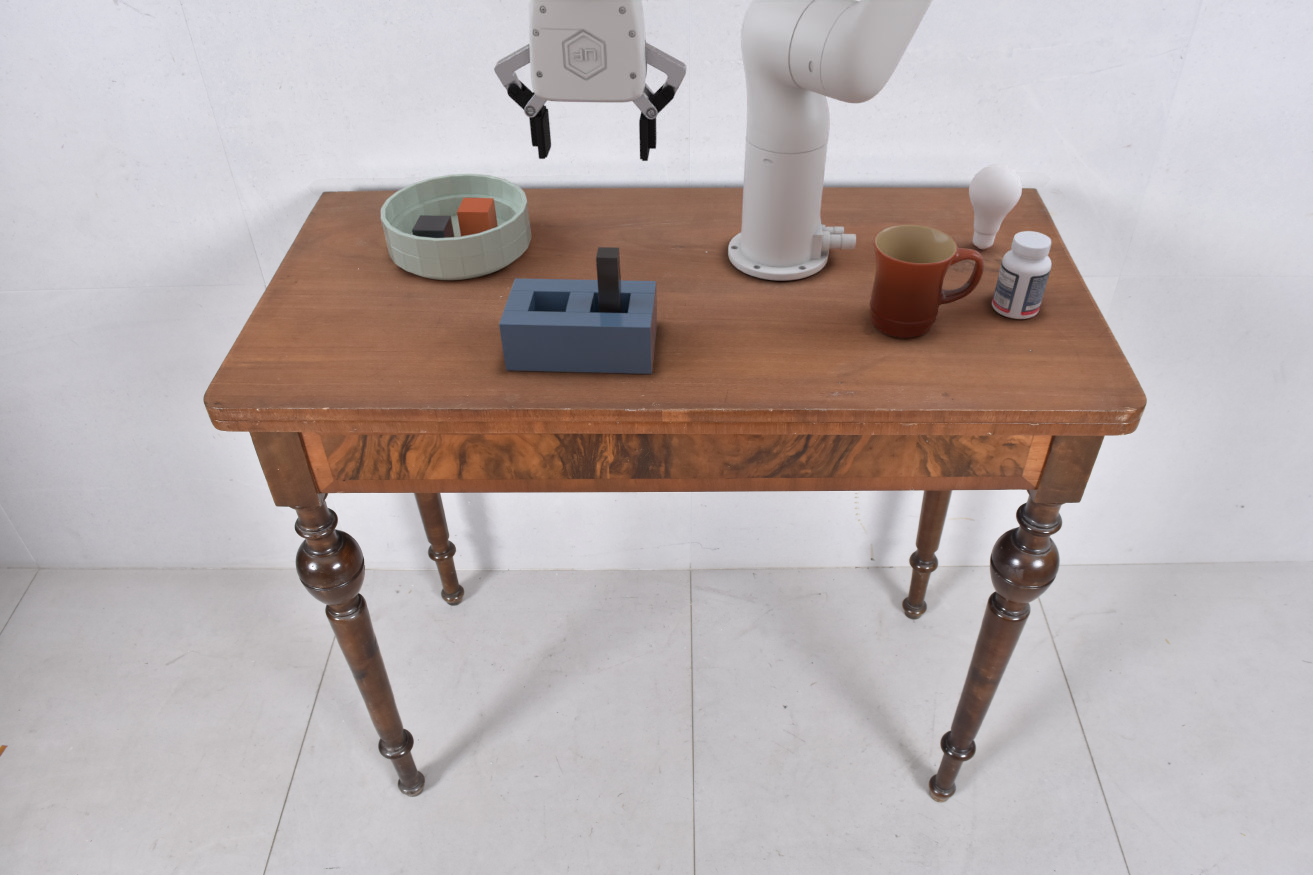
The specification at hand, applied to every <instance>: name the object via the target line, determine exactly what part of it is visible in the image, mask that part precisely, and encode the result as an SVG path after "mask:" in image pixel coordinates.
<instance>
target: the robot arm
mask: <svg viewBox="0 0 1313 875" xmlns="http://www.w3.org/2000/svg"><path fill="white" fill-rule="evenodd" d="M528 2H529V3H528V40H529V41H528V43H527V44H526V45H524V46H522V47H521V48H518V49H517V50H515V51H513V52H512V53H510V54H508V55H507V56H504V57H502V58H501V59H499V60H498V61H496V63H495V65H494V67H493V71H494V74H495V75H496V76H497V78H498V79H499V81H500V83H501V84H502V86H503V87H504V89H505V90H506V92H507V95H508V97H509V98H510V99H511V100H512V101H514V102H515V104H516V105H518V106H519V107H520V108H521V109H522V110H523V112H524V115H525V116H526V117H527V118H528V119H529V130H530V138H531V140H530V141H531V145H532V147H535V148H537V155H538V159H539V160H545V159H547V158H548V156H549V153H550V151H551V148H552V137H551V136H552V135H551V126H550V115H549V114H550V113H549V109H548V108H547V105H545V104H546V103H547V101H549V102H559V103H560V102H561V103H630V102H632V103H633V104H634V105H635V106H636V108H638V110H639V111H640V116H639V120H638V128H639V129H638V130H639V131H638V134H639V160H641V161H642V162H648V161H649V156H650V151H651V150H657V117H658V114H659V113H660V112H661V111H662V110H664V109H665V107H667V106H668V105H669V104H670V103H671V102H672V100H673V99H674V98H675V95H676V93H677V91H678V90H679V88H680V86H681V84H682V82H683V80H684V78H685V77H686V74H687V64H686V63H685V62H683V61H682V60H679V59H678V58H676V57H674V56H672V55H671V54H668V53H667V52H664V51H663V50H662V49H659V48H658V47H655V46H654V45H652V44H650V43H648V42H647V39H646V26H645V15H644V9H643V8H644V7H643V1H642V0H529V1H528ZM932 2H933V0H752V1H751V2H750V4H749V5H748V8H747V9H746V11H745V13H744V17H743V19H742V24H741V30H740V47H741V48H740V49H741V57H742V63H743V64H742V65H743V70H744V78H745V85H746V87H745V88H746V124H745V125H746V126H745V127H746V128H745V144H744V145H745V146H744V166H743V185H742V186H743V187H742V188H743V189H742V207H741V208H742V209H741V210H742V211H741V229H740V230H741V231H740V232H739V233H737V234H736V235H735V236H733V237H732V238H731V240H730V241H729V243H728V248H727V256H728V259H729V262H730V263H731V264H732V265H733V266H734V267H735V268H736V269H737V270H739V271H741V272H742V273H744V274H746V275H749V276H751V277H754V278H757V279H762V280H769V281H779V282H780V281H783V282H784V281H795V280H801V279H804V278H809V277H810V276H813V275H815V274H816V273H818V272H820V271H821V270H822V269H823V268H824V267H826V265H827V263H828V262H829V261H828V260H829V255H830V253H829V252H830V250H841V251H843V250H845V251H854V250H856V246H857V234H856V233H845V227H844V226H826V224H822V216H821V211H822V209H821V208H822V201H823V200H822V199H823V192H824V191H823V189H824V182H825V181H824V180H825V179H824V178H825V171H826V162H827V152H828V143H829V137H830V126H831V124H830V123H831V119H830V109H829V103H828V99H827V98H830V99H833V100H836V101H840V102H844V103H848V104H862V103H865V102H868V101H870V100H872V99H873V98H875V97H876V96H877V95H878V94H879V93H880V92H881V91H883V89H884V87H886V85H887V83H888V82H889V80H890V79H891V78H892V76H893V74H894V73H895V70H896V69H897V68H898V66H899V64H900V62H901V60H902V58H903V56H904V54H905V52H906V51H907V49H908V47H909V45H910V43H911V42H912V40H913V37H914V36H915V34H916V32H917V30H918V29H919V27H920V25H921V23H922V21H923V19H924V17H925V15H926V14H927V11H928V10H929V7H930V6H931V5H932ZM526 65H530V66H529V67H530V81H531V87H532V90H531V89H530V88H529V87H527V86H526V85H525V84H524V83H523V82H522V81H521V80H520V79H519V78H518V75H517V73H516V71H518V70H519V69H521V68H523V67H525V66H526ZM648 66H651V67H653V68H654V69H657V70H658V71H660V72H662V73H664V74H665V75H666V76H667V77H666V79H665V82H664V83H663V84H662V85H661V86H660V87H659V88H658V89H657V90H656V91H655V92H654V91H653V90H652V88H650V86H649V85H648V84H647V83H646V79H647V73H648Z"/></svg>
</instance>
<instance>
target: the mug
mask: <svg viewBox="0 0 1313 875" xmlns="http://www.w3.org/2000/svg"><path fill="white" fill-rule="evenodd" d="M872 242H873V249H874V255H875V260H876V261H875V264H876V265H875V266H876V267H875V275H874V279H873V285H872V289H871V296H870V300H869V319H870V322H871V324H872V325H873V326H874V327H875V328H876V329H877V330H878V331H880V332H881V333H883V334H885V335H887V336H890V337H892V338H896V339H913V338H916V337H919V336H922V335H925V334H926V333H928V332H929V331H930V330H932V328H933V326H934V324H935V322H936V320H937V319H936V318H937V316H938V315H939V308H940V306H942V305H947V304H952V303H954V302H956V301H959V300H961V299H965V298H966V297H967V296H969V295H970V294H971V293H972V292H973V291H974V290H975V289H976V288H977V286H978V285H979V283H980V281H981V280H982V278H983V274H984V270H985V261H984V258H983V256H982V254H981V253H980V252H979V251H977V250H976V249H973V248H964V247H958V243H957V242H956V240H955V239H954V238H953V237H952V236H950V235H949V234H948V233H946V232H944V231H942V230H939V229H937V228H934V227H931V226H926V225H920V224H897V225H892V226H888V227H885V228H883V229H881V230H879V231H878V232H877V233H876V234H875V236H874V238H873V241H872ZM962 261H974V266H973V270H972V272H971V274H970V276H969V278H968V280H966V282H965V283H964V284H963V285H961V286H960V287H957V288H954V289H943V285H944V280H945V278H946V274H947V272H948V270H949V268H950V267H951V266H952V265H955V264H957V263H960V262H962Z"/></svg>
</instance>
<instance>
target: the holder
mask: <svg viewBox="0 0 1313 875" xmlns="http://www.w3.org/2000/svg"><path fill="white" fill-rule="evenodd" d="M621 293H622V313H600V311H599V296H598V282H597V279H573V278H572V279H571V278H570V279H569V278H568V279H567V278H563V279H562V278H519V277H518V278H517V277H516V278H514V280H513V283H512V286H511V288H510V291H509V294H508V296H507V300H506V302H505V306H504V308H503V311H502V314H501V317H500V320H499V323H498V327H499V334H500V341H501V348H502V353H503V354H502V355H503V359H504V366H505V371H510V372H512V371H514V372H516V371H517V372H550V373H551V372H554V373H559V372H560V373H594V374H595V373H597V374H630V375H631V374H632V375H634V374H635V375H636V374H638V375H652V374H653V373H652V372H653V368H654V367H653V366H654V357H655V347H656V341H657V340H656V338H657V330H658V304H657V303H658V299H657V298H658V295H657V281H656V280H623V279H621Z"/></svg>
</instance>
